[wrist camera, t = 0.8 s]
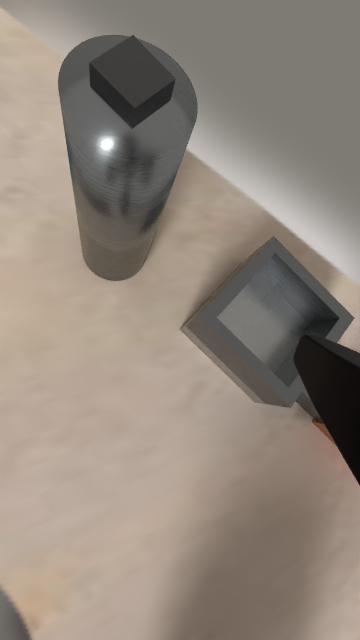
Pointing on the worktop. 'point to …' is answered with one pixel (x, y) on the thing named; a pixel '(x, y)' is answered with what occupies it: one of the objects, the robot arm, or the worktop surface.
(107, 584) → the worktop surface
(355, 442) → the robot arm
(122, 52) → the cylinder with cube top
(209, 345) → the saucepan
